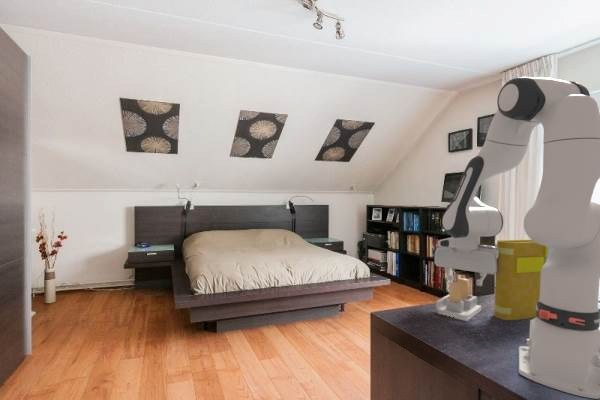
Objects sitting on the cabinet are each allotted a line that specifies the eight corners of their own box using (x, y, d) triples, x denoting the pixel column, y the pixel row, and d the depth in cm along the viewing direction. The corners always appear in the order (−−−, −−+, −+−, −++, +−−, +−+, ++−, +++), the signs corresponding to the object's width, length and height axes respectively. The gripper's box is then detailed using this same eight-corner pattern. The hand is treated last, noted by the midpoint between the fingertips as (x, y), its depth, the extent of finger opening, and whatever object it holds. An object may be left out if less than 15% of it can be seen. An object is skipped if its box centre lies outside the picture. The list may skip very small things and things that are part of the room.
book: (526, 310, 123) (529, 239, 122) (545, 316, 116) (548, 242, 116) (488, 314, 117) (492, 240, 117) (506, 321, 111) (509, 243, 110)
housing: (466, 321, 110) (468, 288, 110) (435, 313, 117) (436, 281, 117) (481, 310, 121) (482, 280, 121) (451, 303, 128) (452, 274, 128)
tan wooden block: (466, 307, 119) (467, 281, 119) (455, 304, 122) (456, 279, 121) (469, 305, 122) (470, 279, 121) (458, 302, 124) (459, 277, 124)
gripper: (501, 245, 116) (500, 287, 116) (439, 239, 130) (439, 276, 130) (496, 247, 111) (495, 290, 112) (433, 240, 126) (432, 279, 126)
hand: (464, 282), depth 121 cm, fingers open, 8 cm apart
